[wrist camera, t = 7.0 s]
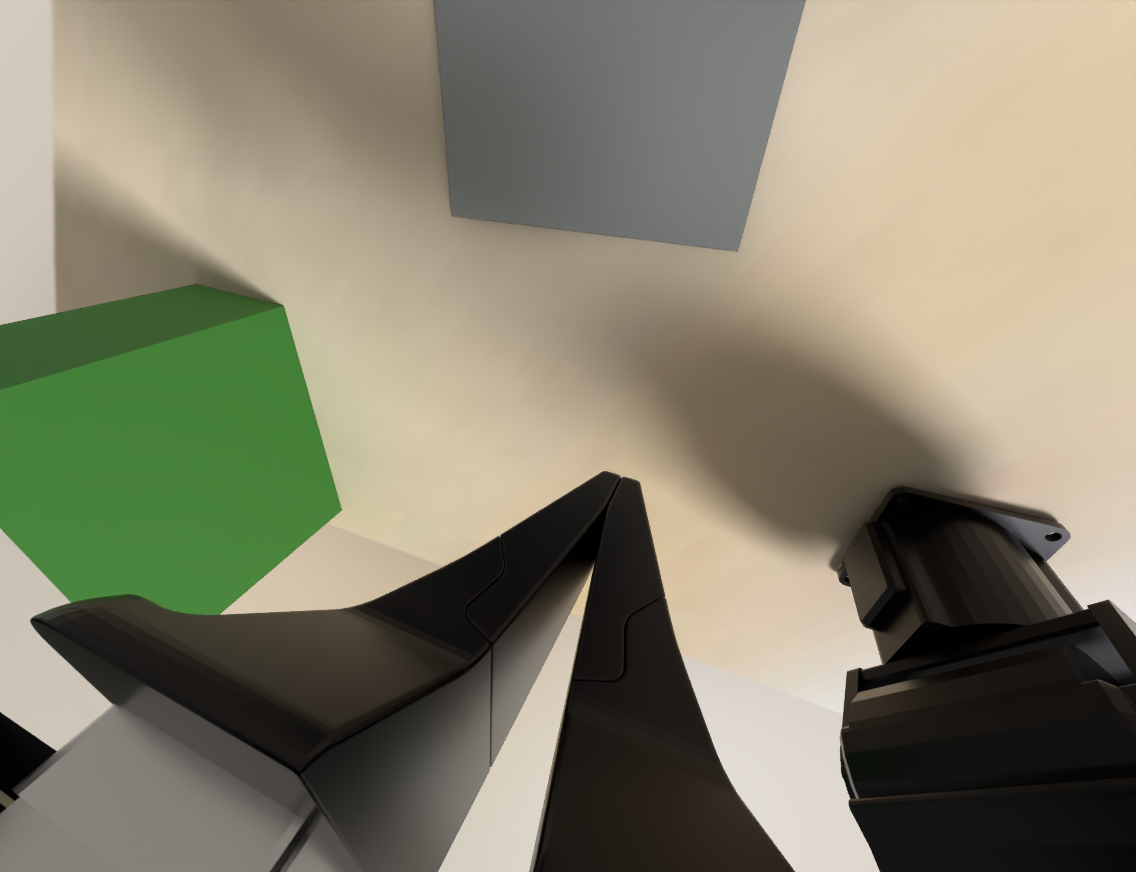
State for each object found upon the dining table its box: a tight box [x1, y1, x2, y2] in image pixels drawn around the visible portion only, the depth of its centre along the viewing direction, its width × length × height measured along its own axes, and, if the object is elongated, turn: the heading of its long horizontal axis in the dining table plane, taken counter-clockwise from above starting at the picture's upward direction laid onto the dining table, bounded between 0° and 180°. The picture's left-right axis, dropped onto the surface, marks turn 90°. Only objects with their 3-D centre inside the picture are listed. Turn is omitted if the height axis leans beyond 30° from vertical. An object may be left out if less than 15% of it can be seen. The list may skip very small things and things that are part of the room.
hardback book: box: [0, 284, 342, 751], centre depth 22 cm, size 18×7×24 cm, turn 174°
